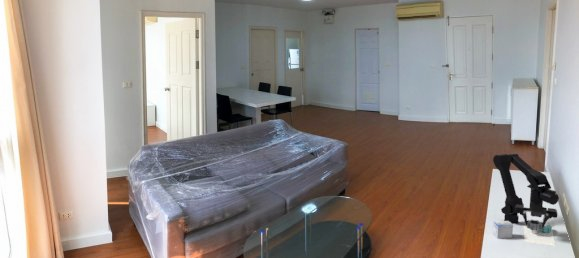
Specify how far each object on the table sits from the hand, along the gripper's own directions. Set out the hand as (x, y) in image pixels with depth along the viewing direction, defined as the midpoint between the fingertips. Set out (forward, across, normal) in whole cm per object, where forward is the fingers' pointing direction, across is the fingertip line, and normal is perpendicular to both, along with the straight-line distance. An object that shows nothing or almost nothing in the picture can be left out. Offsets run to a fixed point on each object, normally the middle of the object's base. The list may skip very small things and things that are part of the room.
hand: (534, 226), depth 222 cm
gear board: (+5, +2, -2) cm, 6 cm away
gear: (+1, 0, 0) cm, 1 cm away
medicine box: (+5, -14, -10) cm, 18 cm away
